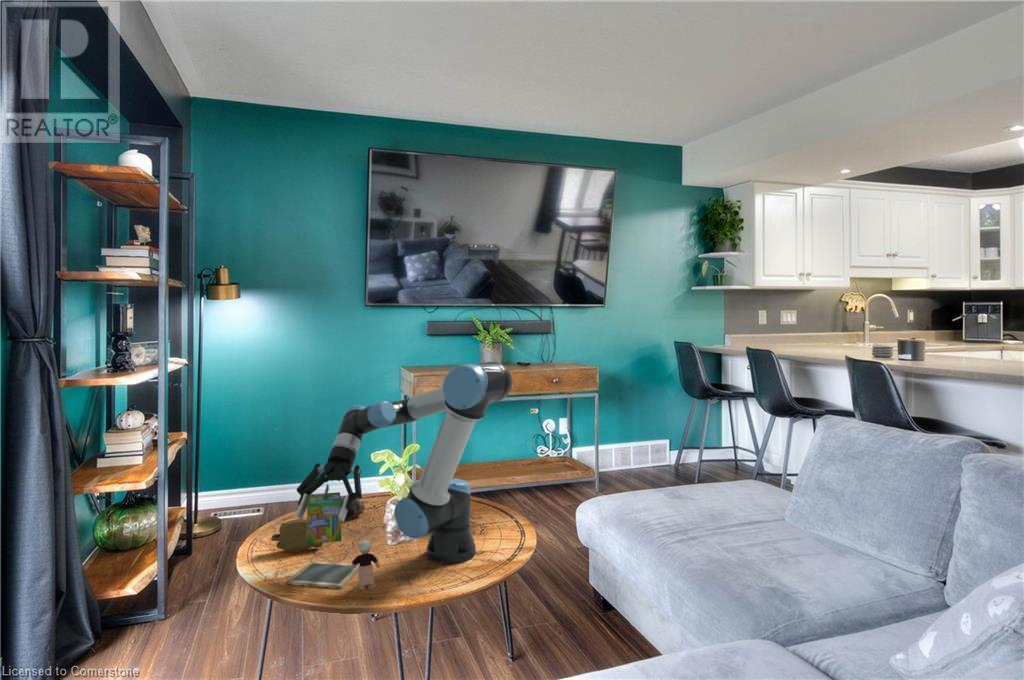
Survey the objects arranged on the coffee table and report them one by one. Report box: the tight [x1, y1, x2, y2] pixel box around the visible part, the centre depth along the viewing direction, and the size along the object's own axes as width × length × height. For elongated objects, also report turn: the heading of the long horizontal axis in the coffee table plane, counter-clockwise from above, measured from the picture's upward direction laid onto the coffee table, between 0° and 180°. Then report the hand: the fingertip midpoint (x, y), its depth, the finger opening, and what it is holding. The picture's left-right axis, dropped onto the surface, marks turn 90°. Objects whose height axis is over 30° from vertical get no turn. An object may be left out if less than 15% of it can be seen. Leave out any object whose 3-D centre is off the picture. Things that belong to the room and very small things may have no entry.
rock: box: [341, 494, 366, 520], centre depth 212 cm, size 12×9×10 cm
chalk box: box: [306, 483, 342, 545], centre depth 162 cm, size 9×9×15 cm
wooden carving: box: [270, 518, 323, 553], centre depth 181 cm, size 16×5×10 cm, turn 109°
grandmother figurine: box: [350, 539, 381, 591], centre depth 155 cm, size 8×4×13 cm, turn 118°
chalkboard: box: [285, 560, 360, 590], centre depth 162 cm, size 16×14×1 cm
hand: (319, 518), depth 160 cm, fingers closed on chalk box, 12 cm apart
